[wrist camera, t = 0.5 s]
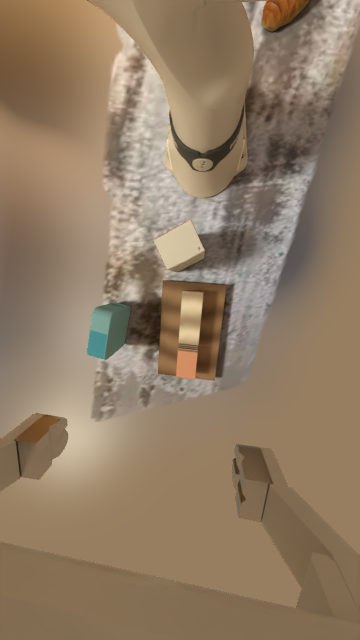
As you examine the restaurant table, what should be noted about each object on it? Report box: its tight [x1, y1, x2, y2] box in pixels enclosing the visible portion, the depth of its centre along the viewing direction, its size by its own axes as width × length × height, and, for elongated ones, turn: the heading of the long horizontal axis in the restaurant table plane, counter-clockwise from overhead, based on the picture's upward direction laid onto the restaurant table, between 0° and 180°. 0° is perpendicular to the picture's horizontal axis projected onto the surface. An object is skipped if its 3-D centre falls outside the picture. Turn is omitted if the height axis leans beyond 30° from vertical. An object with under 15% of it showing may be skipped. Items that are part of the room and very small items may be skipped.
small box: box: [154, 220, 205, 272], centre depth 42 cm, size 8×6×13 cm
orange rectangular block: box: [176, 347, 198, 379], centre depth 50 cm, size 8×5×4 cm, turn 176°
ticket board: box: [158, 281, 226, 381], centre depth 50 cm, size 26×16×6 cm, turn 176°
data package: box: [87, 302, 131, 360], centre depth 48 cm, size 12×4×12 cm, turn 166°
